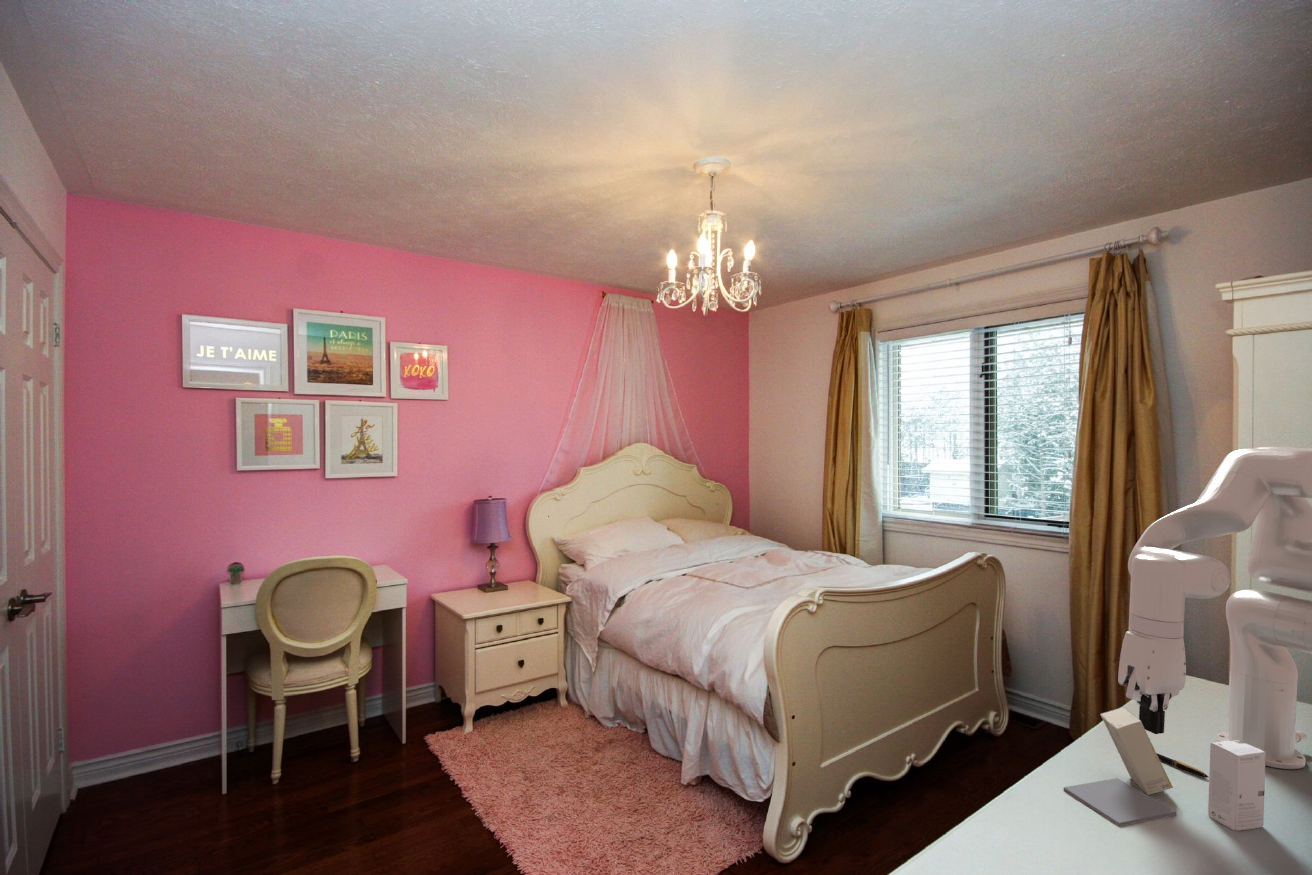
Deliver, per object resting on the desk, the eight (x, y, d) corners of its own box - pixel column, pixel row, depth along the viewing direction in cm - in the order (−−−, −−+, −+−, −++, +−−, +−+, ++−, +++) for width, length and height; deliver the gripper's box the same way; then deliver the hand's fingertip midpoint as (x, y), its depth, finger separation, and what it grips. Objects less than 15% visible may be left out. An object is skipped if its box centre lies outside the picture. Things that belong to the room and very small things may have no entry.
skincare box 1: (1174, 788, 108) (1143, 721, 109) (1147, 796, 109) (1116, 729, 110) (1153, 769, 114) (1124, 705, 115) (1127, 776, 115) (1099, 712, 116)
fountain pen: (1118, 744, 127) (1118, 737, 127) (1121, 743, 127) (1121, 736, 127) (1207, 781, 114) (1208, 773, 114) (1210, 779, 115) (1211, 771, 115)
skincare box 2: (1235, 832, 100) (1239, 756, 99) (1205, 814, 104) (1208, 742, 104) (1265, 827, 101) (1269, 752, 101) (1234, 810, 105) (1237, 738, 105)
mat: (1117, 780, 114) (1117, 777, 114) (1175, 814, 104) (1176, 811, 104) (1063, 789, 110) (1063, 787, 110) (1119, 825, 101) (1119, 822, 101)
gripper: (1165, 617, 116) (1161, 715, 117) (1102, 622, 112) (1097, 724, 113) (1211, 630, 109) (1206, 735, 110) (1144, 636, 105) (1139, 745, 106)
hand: (1151, 729), depth 111 cm, fingers closed
